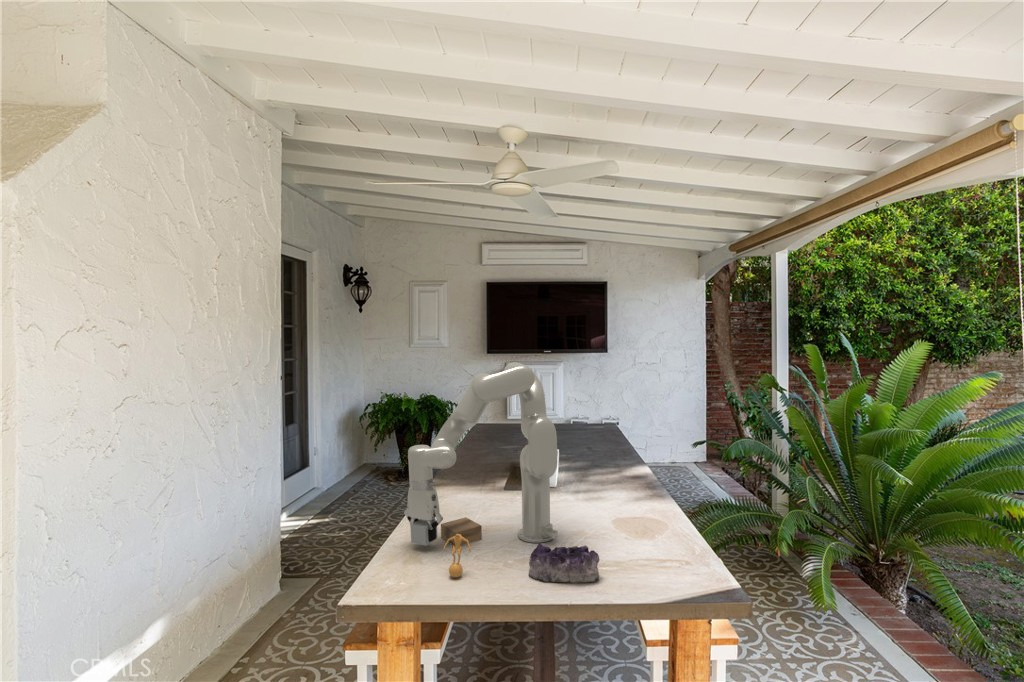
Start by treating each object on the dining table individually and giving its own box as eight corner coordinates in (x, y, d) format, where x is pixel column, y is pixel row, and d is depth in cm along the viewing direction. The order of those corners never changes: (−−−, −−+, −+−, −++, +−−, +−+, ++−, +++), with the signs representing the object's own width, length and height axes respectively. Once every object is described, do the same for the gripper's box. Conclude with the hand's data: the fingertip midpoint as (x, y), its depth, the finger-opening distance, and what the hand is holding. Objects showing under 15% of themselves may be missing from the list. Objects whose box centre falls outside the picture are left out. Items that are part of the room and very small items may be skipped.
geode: (529, 588, 156) (527, 551, 157) (528, 574, 167) (526, 540, 168) (602, 584, 156) (600, 547, 157) (596, 570, 168) (594, 536, 168)
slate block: (437, 538, 184) (436, 520, 184) (425, 545, 179) (424, 527, 179) (423, 535, 187) (422, 517, 187) (411, 542, 182) (410, 524, 182)
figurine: (439, 578, 162) (439, 537, 161) (446, 569, 168) (446, 529, 167) (467, 581, 160) (466, 540, 159) (473, 571, 166) (472, 531, 165)
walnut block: (481, 540, 190) (481, 525, 189) (456, 547, 184) (455, 532, 183) (466, 531, 198) (465, 517, 197) (441, 538, 192) (440, 523, 192)
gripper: (449, 483, 181) (452, 538, 182) (408, 477, 190) (411, 529, 191) (435, 490, 174) (438, 547, 175) (393, 484, 183) (396, 538, 184)
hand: (424, 537), depth 183 cm, fingers closed on slate block, 6 cm apart
